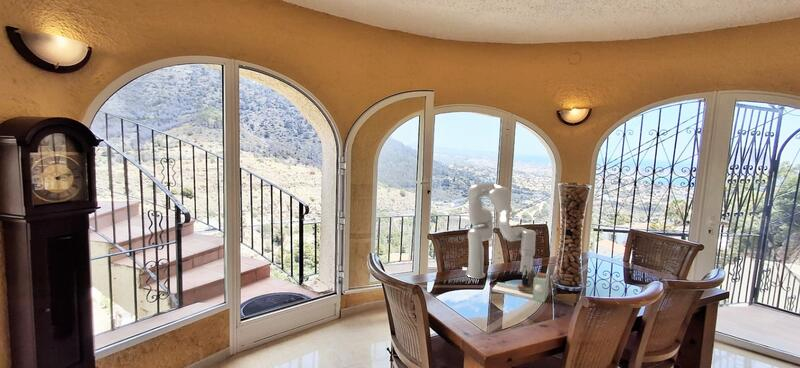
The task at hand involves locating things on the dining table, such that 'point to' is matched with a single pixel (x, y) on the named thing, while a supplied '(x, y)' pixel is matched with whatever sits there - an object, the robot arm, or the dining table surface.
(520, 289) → the carriage
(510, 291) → the rail base
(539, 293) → the gauge cabinet
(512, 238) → the robot arm
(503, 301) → the dining table surface
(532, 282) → the worn brown figurine
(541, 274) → the button
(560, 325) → the dining table surface
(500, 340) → the dining table surface
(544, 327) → the dining table surface
